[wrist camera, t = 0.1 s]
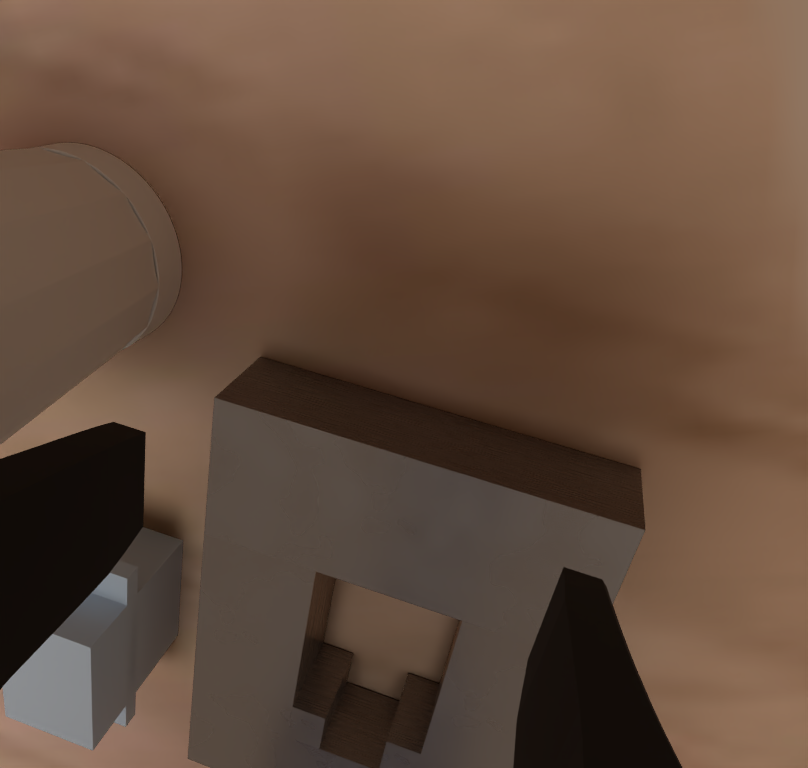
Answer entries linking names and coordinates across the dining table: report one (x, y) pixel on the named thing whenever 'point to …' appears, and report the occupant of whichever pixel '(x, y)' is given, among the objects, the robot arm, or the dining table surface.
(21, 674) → the block
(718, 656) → the dining table surface
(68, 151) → the cup
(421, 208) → the dining table surface
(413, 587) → the chassis
